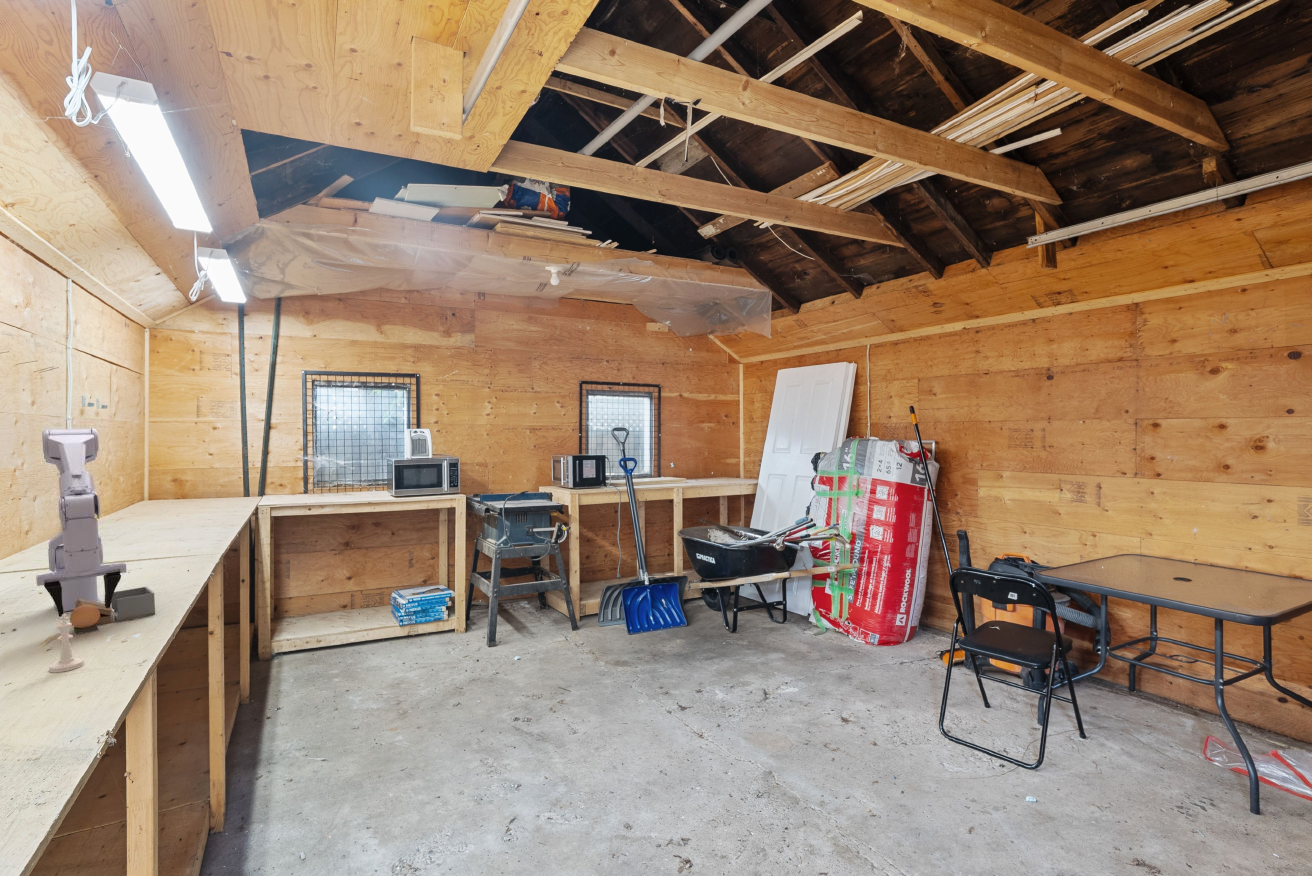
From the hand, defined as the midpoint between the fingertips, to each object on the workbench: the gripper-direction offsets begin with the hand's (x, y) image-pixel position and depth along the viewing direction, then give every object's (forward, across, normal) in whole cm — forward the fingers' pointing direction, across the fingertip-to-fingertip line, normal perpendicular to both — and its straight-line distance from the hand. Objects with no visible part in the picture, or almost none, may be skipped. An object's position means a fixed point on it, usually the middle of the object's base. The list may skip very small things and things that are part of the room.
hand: (84, 611), depth 141 cm
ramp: (+4, +2, +7) cm, 8 cm away
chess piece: (+4, -6, -25) cm, 26 cm away
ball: (+1, 0, 0) cm, 1 cm away
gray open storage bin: (+4, +9, +7) cm, 12 cm away
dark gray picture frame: (+4, 0, 0) cm, 4 cm away
